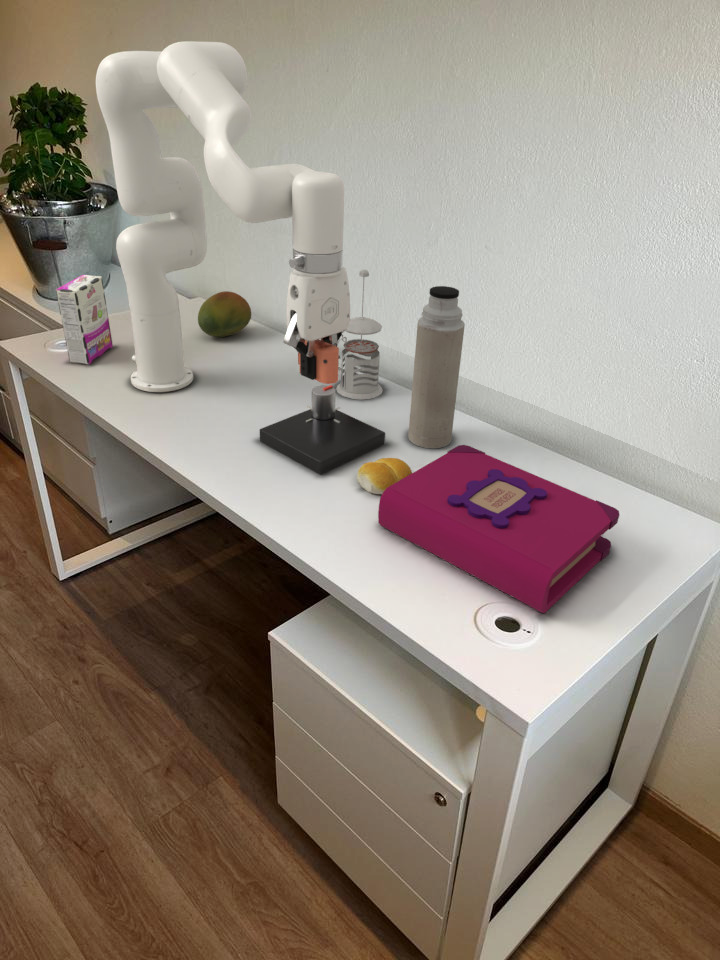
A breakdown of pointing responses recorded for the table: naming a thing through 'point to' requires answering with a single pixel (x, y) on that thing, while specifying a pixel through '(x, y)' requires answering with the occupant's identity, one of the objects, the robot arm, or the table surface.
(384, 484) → the bread roll
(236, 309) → the fruit
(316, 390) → the knob
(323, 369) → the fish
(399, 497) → the book
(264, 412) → the table surface
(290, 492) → the table surface
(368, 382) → the french press
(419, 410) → the thermos bottle
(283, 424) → the hot plate
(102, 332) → the candy bar box
